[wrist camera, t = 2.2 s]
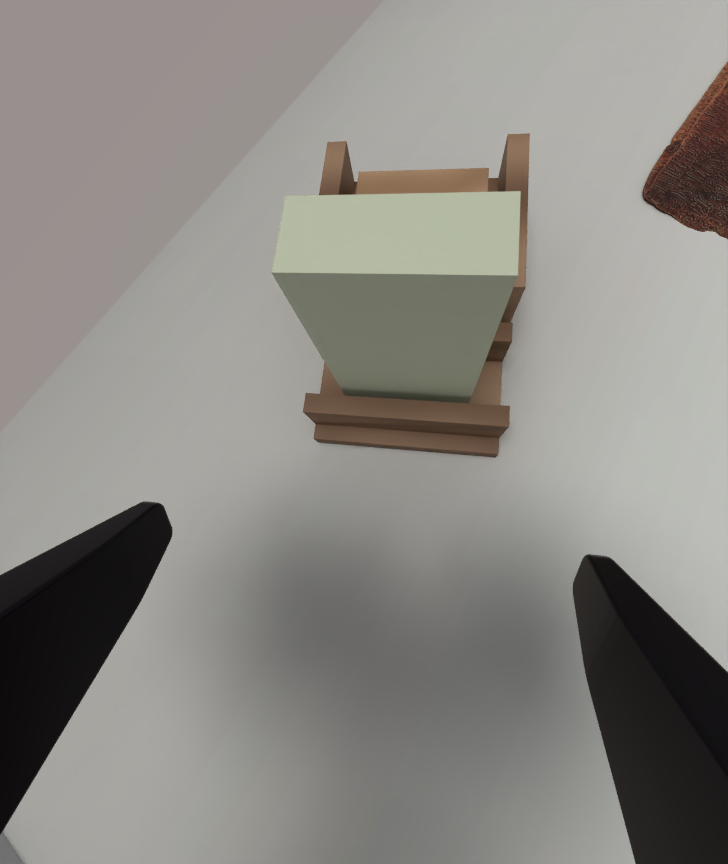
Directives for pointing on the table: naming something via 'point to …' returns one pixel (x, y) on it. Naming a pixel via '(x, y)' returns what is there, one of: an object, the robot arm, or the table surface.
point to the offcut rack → (415, 419)
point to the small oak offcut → (423, 181)
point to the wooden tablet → (697, 165)
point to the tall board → (401, 286)
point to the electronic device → (8, 852)
